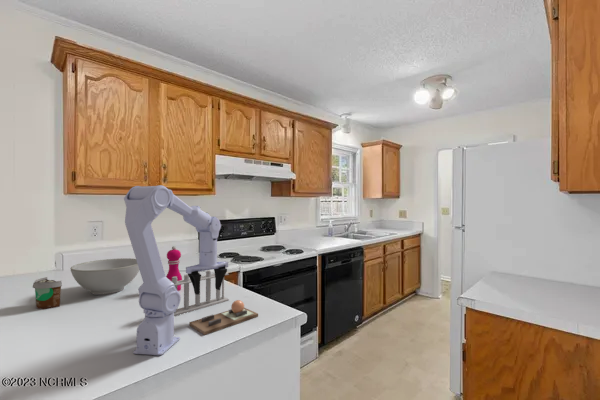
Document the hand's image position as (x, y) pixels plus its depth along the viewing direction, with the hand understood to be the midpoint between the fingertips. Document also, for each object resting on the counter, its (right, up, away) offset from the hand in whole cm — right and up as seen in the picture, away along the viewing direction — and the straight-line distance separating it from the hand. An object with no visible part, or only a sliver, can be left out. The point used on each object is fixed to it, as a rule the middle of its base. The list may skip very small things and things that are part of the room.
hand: (207, 291), depth 98 cm
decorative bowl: (-55, -10, +32) cm, 65 cm away
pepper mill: (-26, -10, +33) cm, 43 cm away
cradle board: (+6, -9, -2) cm, 11 cm away
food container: (-66, -10, +11) cm, 67 cm away
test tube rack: (-7, -10, +11) cm, 16 cm away
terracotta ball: (+10, -6, +2) cm, 12 cm away
